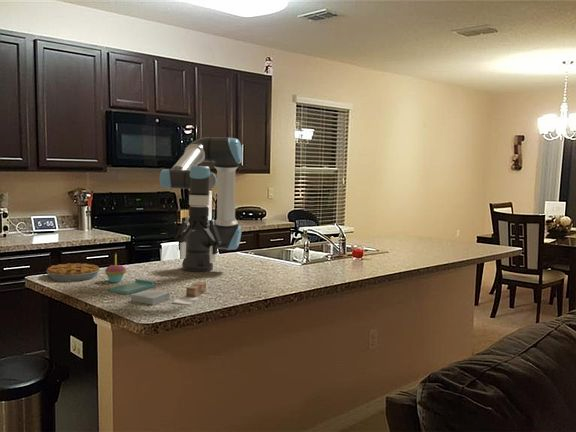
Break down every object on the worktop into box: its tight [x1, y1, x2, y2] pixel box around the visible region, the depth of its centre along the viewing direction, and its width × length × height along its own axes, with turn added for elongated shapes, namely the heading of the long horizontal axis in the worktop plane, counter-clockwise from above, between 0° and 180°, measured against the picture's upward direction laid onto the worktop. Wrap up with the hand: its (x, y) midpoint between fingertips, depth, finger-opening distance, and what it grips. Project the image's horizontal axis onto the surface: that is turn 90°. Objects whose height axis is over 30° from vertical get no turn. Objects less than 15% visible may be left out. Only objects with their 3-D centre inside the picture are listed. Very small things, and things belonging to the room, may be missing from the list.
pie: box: [45, 262, 100, 282], centre depth 232 cm, size 22×22×5 cm
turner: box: [171, 281, 207, 306], centre depth 204 cm, size 22×7×4 cm, turn 169°
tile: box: [130, 289, 171, 306], centre depth 198 cm, size 3×10×10 cm
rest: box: [109, 278, 155, 295], centre depth 214 cm, size 16×9×2 cm, turn 156°
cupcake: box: [104, 254, 127, 283], centre depth 226 cm, size 9×8×12 cm
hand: (197, 260), depth 205 cm, fingers open, 13 cm apart
